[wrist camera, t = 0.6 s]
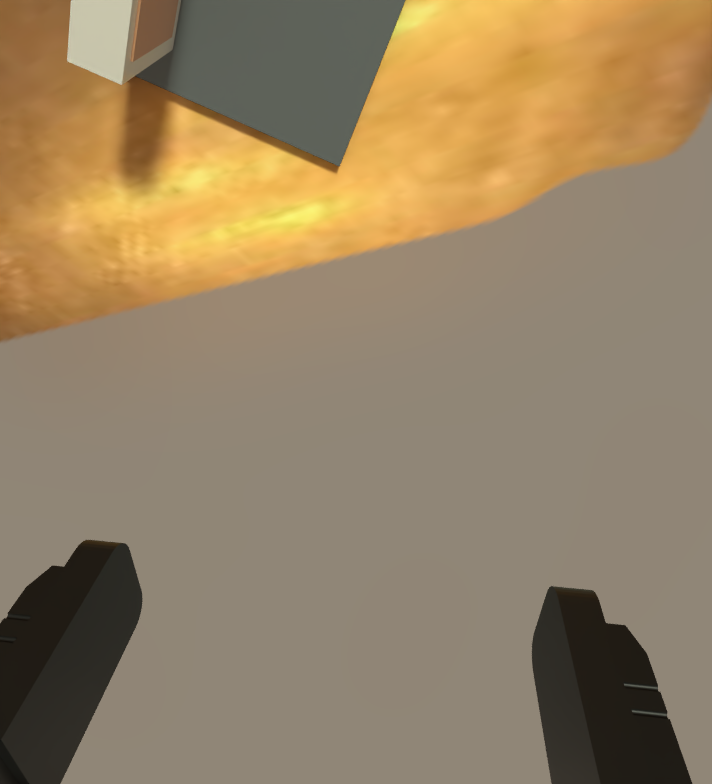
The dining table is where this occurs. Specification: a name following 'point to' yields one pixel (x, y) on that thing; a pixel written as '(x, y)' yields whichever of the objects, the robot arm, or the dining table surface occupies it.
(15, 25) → the dining table surface
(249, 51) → the mat
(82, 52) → the tile
